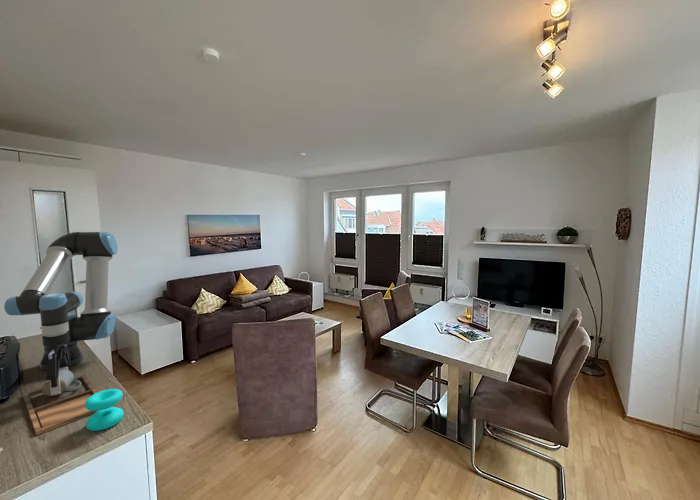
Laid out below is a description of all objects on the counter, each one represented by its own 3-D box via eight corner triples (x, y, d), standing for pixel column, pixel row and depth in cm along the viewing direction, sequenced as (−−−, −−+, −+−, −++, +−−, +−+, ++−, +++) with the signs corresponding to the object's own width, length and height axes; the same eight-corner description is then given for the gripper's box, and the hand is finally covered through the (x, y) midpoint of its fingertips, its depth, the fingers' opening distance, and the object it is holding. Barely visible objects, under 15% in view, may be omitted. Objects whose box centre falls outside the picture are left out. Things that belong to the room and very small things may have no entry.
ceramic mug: (41, 399, 113) (39, 380, 112) (49, 388, 120) (48, 370, 119) (77, 392, 118) (76, 374, 117) (83, 382, 125) (83, 365, 124)
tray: (22, 396, 116) (22, 393, 116) (84, 377, 131) (84, 375, 130) (36, 435, 95) (35, 432, 95) (108, 407, 110) (108, 404, 109)
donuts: (119, 384, 108) (125, 395, 101) (120, 409, 109) (126, 422, 102) (82, 395, 100) (86, 407, 94) (84, 422, 101) (88, 437, 94)
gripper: (53, 326, 123) (57, 378, 125) (30, 345, 105) (35, 405, 107) (77, 323, 127) (80, 373, 129) (58, 341, 108) (63, 399, 111)
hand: (60, 388), depth 118 cm, fingers closed on ceramic mug, 8 cm apart
